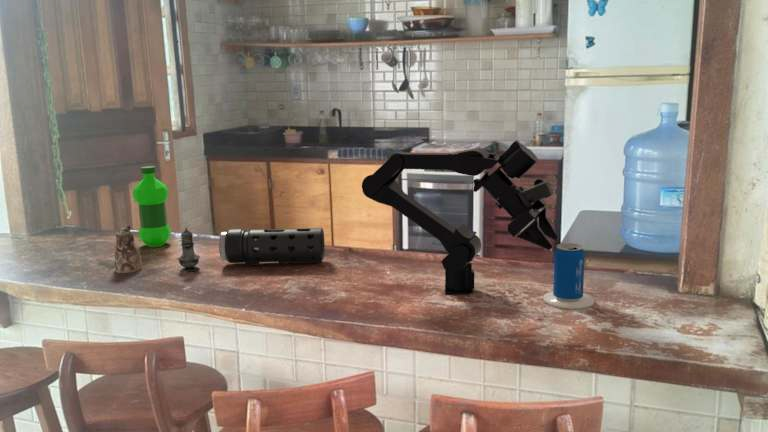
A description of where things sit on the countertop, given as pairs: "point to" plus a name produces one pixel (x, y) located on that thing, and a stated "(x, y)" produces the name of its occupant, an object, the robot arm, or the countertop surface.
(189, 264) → the salt shaker
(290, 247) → the muzzle brake
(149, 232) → the plastic bottle
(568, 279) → the beverage can
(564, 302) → the white round disc
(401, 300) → the countertop surface
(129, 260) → the figurine
